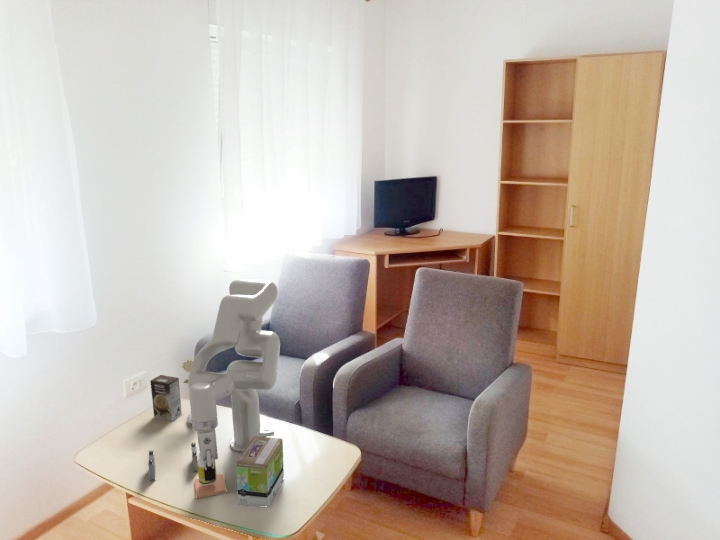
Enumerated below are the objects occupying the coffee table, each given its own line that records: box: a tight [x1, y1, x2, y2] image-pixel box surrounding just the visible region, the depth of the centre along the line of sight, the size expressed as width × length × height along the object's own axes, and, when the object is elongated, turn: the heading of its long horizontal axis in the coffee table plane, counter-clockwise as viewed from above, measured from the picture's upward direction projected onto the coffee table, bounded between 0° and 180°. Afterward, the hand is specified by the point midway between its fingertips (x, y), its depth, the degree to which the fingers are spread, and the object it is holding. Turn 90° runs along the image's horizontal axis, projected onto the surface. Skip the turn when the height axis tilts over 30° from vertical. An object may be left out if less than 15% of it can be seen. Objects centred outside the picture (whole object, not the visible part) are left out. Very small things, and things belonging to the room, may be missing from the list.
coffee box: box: [149, 374, 183, 422], centre depth 216 cm, size 9×6×16 cm
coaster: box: [194, 473, 227, 499], centre depth 172 cm, size 9×9×1 cm
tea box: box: [235, 436, 285, 508], centre depth 168 cm, size 15×10×15 cm, turn 170°
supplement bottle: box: [197, 452, 217, 486], centre depth 171 cm, size 5×5×10 cm
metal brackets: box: [147, 442, 199, 482], centre depth 181 cm, size 15×8×7 cm, turn 110°
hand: (209, 473), depth 171 cm, fingers closed on supplement bottle, 5 cm apart
